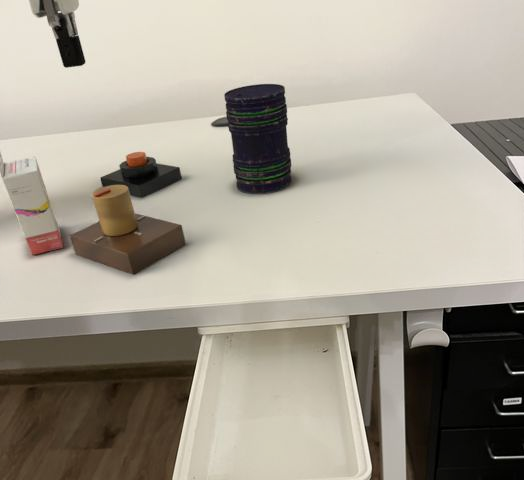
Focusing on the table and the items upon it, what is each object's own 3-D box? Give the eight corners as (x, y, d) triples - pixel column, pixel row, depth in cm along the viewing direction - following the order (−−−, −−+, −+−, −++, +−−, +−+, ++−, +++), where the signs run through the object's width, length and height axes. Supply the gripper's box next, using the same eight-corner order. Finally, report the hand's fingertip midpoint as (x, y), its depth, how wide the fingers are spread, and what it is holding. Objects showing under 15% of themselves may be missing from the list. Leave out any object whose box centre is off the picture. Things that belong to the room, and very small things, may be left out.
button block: (103, 189, 102) (97, 167, 100) (143, 171, 108) (138, 151, 106) (141, 197, 96) (136, 175, 94) (182, 178, 102) (177, 157, 100)
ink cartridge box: (65, 248, 82) (30, 148, 74) (31, 256, 81) (-8, 156, 73) (60, 228, 89) (28, 134, 80) (29, 235, 88) (-8, 141, 79)
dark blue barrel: (271, 169, 101) (263, 81, 92) (304, 182, 94) (298, 87, 85) (225, 184, 97) (212, 94, 88) (255, 199, 90) (244, 101, 81)
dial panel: (75, 254, 80) (68, 234, 78) (127, 228, 86) (122, 208, 84) (133, 274, 73) (127, 253, 71) (185, 244, 79) (181, 223, 77)
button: (124, 166, 100) (121, 156, 99) (138, 160, 102) (136, 150, 101) (136, 169, 98) (134, 159, 97) (151, 162, 100) (149, 152, 99)
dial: (123, 218, 81) (112, 180, 78) (145, 225, 78) (135, 185, 75) (95, 232, 78) (83, 192, 75) (117, 238, 75) (105, 198, 72)
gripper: (25, -75, 83) (64, 61, 94) (-12, -78, 71) (37, 77, 82) (74, -81, 82) (107, 55, 93) (45, -86, 70) (87, 71, 81)
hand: (75, 65), depth 87 cm, fingers closed
